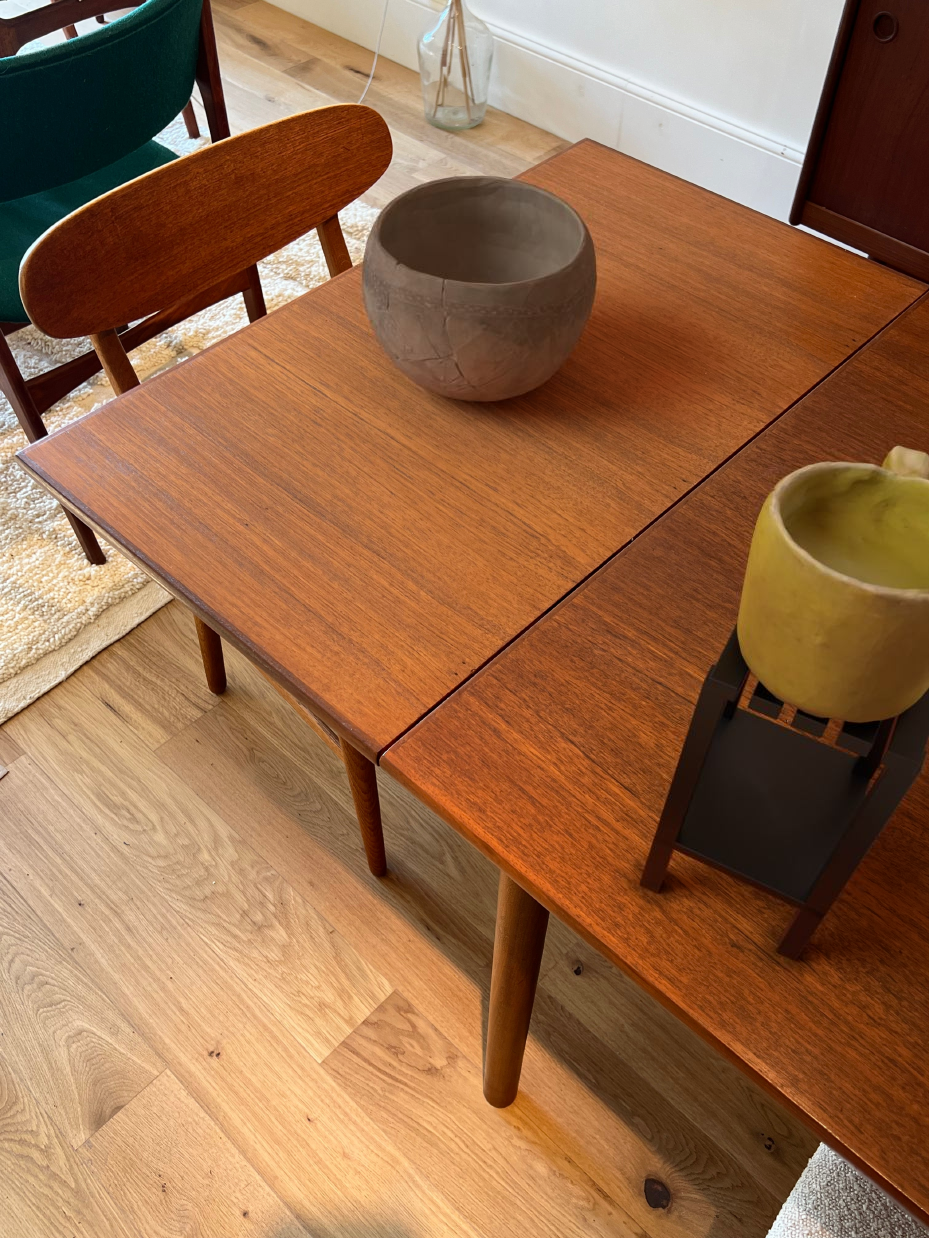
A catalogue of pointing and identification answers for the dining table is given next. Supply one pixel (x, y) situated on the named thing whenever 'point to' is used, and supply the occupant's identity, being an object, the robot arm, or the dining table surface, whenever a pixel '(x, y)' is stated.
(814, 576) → the mug
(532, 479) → the dining table surface
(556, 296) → the bowl
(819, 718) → the rack
